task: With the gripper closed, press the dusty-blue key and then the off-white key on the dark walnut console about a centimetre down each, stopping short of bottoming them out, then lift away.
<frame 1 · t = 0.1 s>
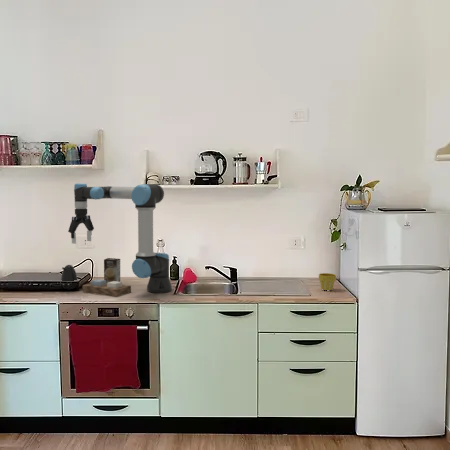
hand: (81, 242, 321), 28 cm above the worktop, tool pointing down, fingers open, 13 cm apart
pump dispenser: (69, 289, 315), on the worktop
plant pot: (326, 290, 317), on the worktop
blue key: (98, 283, 310), point 5 cm above the worktop, slide at 0.0 cm
white key: (114, 285, 305), point 5 cm above the worktop, slide at 0.0 cm
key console: (106, 292, 308), on the worktop
coffee box: (112, 283, 332), on the worktop
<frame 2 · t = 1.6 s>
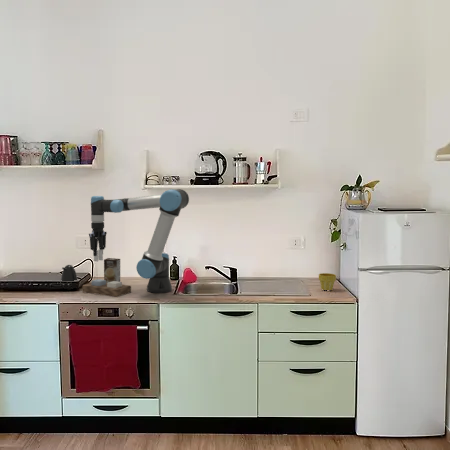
hand: (98, 260, 309), 19 cm above the worktop, tool pointing down, fingers open, 3 cm apart
nothing on the worktop moved.
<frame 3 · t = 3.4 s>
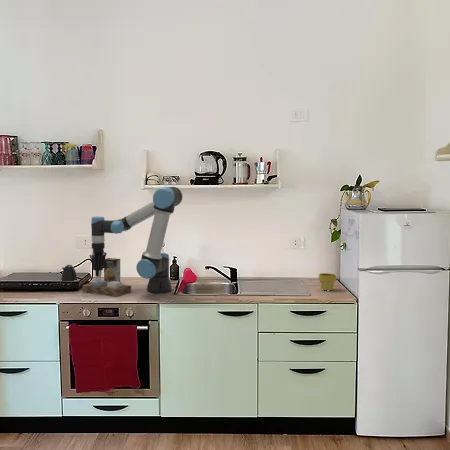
hand: (98, 281, 310), 6 cm above the worktop, tool pointing down, fingers closed
blue key: (98, 284, 310), point 4 cm above the worktop, slide at 0.6 cm, touching gripper
everything else where it was.
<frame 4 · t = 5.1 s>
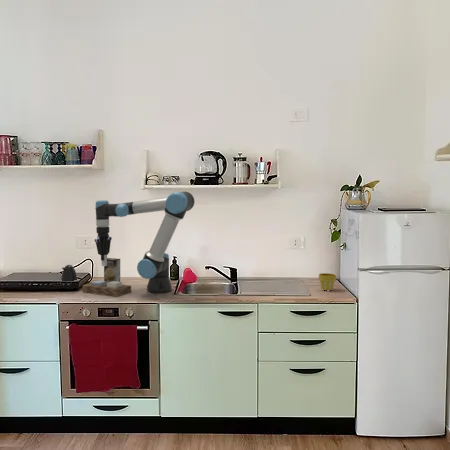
hand: (104, 265, 307), 16 cm above the worktop, tool pointing down, fingers closed
blue key: (98, 284, 310), point 4 cm above the worktop, slide at 1.0 cm
everything else where it was.
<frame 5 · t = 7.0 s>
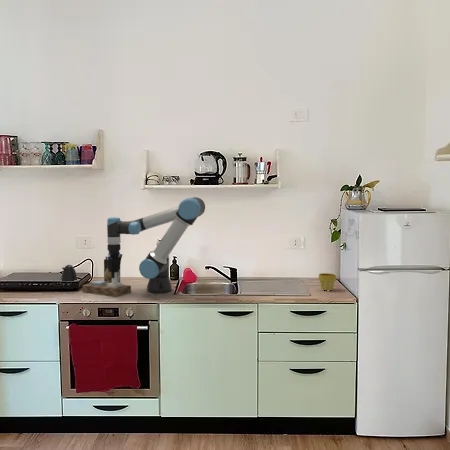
hand: (114, 283, 305), 6 cm above the worktop, tool pointing down, fingers closed
white key: (114, 286, 305), point 4 cm above the worktop, slide at 0.7 cm, touching gripper
everything else where it was.
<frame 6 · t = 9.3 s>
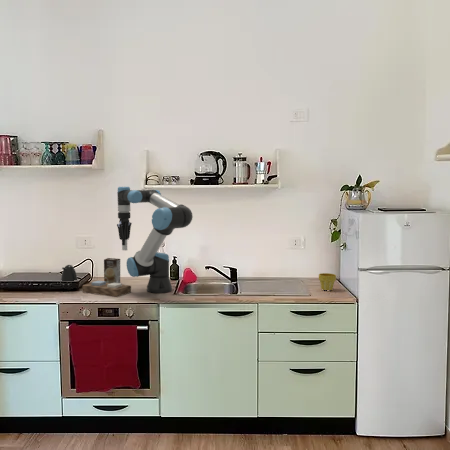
hand: (124, 250, 316), 24 cm above the worktop, tool pointing down, fingers closed
white key: (114, 286, 305), point 4 cm above the worktop, slide at 1.0 cm
everything else where it was.
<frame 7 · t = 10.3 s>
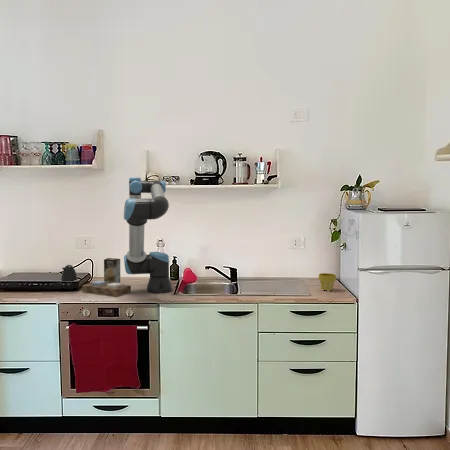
hand: (135, 238, 331), 29 cm above the worktop, tool pointing down, fingers closed
nothing on the worktop moved.
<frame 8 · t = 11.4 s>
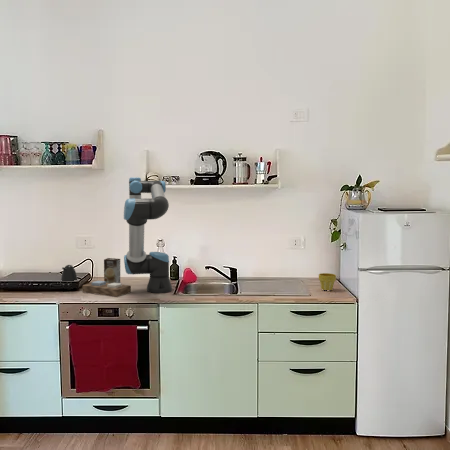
hand: (135, 238, 331), 29 cm above the worktop, tool pointing down, fingers closed
nothing on the worktop moved.
at the end: blue key slide at 1.0 cm; white key slide at 1.0 cm; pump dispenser moved 0.2 cm from its start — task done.
